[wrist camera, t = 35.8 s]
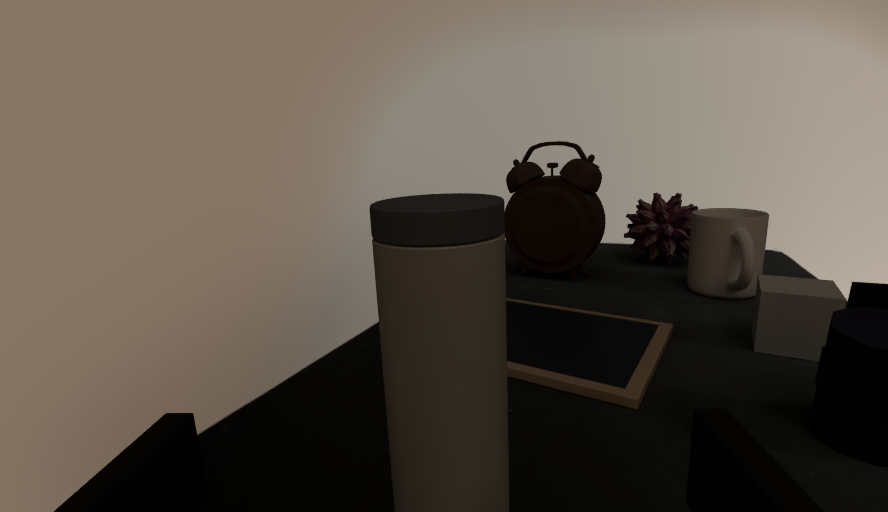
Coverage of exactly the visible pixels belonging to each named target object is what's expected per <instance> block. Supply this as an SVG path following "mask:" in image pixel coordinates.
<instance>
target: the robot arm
mask: <svg viewBox="0 0 888 512" xmlns="http://www.w3.org/2000/svg"><path fill="white" fill-rule="evenodd" d="M209 500H210V499H209V494H208V489H207V484H206V478H205V473H204V468H203V463H202V458H201V452H200V447H199V442H198V437H197V431H196V426H195V421H194V416H193V413H166V414H165V415H163V416H162V417H161V418H160V419H159V420H158V421H157V422H155V423H154V424H153V425H152V426H151V427H150V428H149V429H147V430H146V431H145V432H144V433H143V434H142V435H141V436H139V437H138V438H137V439H136V440H135V441H134V442H133V443H131V445H129V446H128V447H127V448H126V449H125V450H123V451H122V452H121V453H120V454H119V455H118V456H117V457H116V458H114V459H113V460H112V461H111V462H110V463H109V464H107V466H105V467H104V468H103V469H102V470H101V471H99V472H98V473H97V474H96V475H95V476H94V477H93V478H91V479H90V480H89V481H88V482H87V483H86V484H85V485H83V486H82V487H81V488H80V489H79V490H78V491H77V492H75V493H74V494H73V495H72V496H71V497H70V498H69V499H67V500H66V501H65V502H64V503H63V504H62V505H61V506H59V507H58V508H57V509H56V510H55V511H54V512H201V510H202V509H203V508H204V506H205V505H206V504H207V502H208V501H209ZM686 503H687V505H688V507H689V508H690V510H691V512H824V511H823V510H822V509H821V508H820V507H819V506H818V505H817V504H816V503H815V502H814V501H813V499H812V498H811V497H810V496H809V495H808V494H807V493H806V492H805V491H804V490H803V489H802V488H801V487H800V486H799V485H798V484H797V483H796V482H795V481H794V480H793V479H792V478H791V476H790V475H789V474H788V473H787V472H786V471H785V470H784V469H783V468H782V467H781V466H780V465H779V464H778V463H777V462H776V461H775V460H774V459H773V458H772V457H771V456H770V455H769V453H768V452H767V451H766V450H765V449H764V448H763V447H762V446H761V445H760V444H759V443H758V442H757V441H756V440H755V439H754V438H753V437H752V436H751V435H750V434H749V433H748V432H747V431H746V429H745V428H744V427H743V426H742V425H741V424H740V423H739V422H738V421H737V420H736V419H735V418H734V417H733V416H732V415H731V414H730V413H729V412H728V411H727V410H726V409H694V416H693V427H692V439H691V450H690V462H689V473H688V485H687V496H686Z"/></svg>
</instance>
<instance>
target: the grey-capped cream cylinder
mask: <svg viewBox="0 0 888 512" xmlns="http://www.w3.org/2000/svg"><path fill="white" fill-rule="evenodd" d="M370 218H371V219H370V220H371V232H372V237H373V240H372V244H373V255H374V268H375V280H376V290H377V291H376V292H377V303H378V315H379V328H380V340H381V352H382V364H383V376H384V388H385V400H386V412H387V424H388V436H389V448H390V460H391V472H392V484H393V496H394V508H395V512H509V467H508V404H507V341H506V278H505V233H504V230H505V215H504V199H503V198H501V197H499V196H494V195H486V194H462V193H461V194H460V193H458V194H429V195H417V196H406V197H398V198H391V199H386V200H381V201H378V202H375V203H373V204H371V205H370Z"/></svg>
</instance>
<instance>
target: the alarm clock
mask: <svg viewBox="0 0 888 512" xmlns="http://www.w3.org/2000/svg"><path fill="white" fill-rule="evenodd" d="M549 145H564V146H568V147H572V148H574V149H575V150H576V151H577V152H578V154H579V155H580V157H581V159H573V160H571V161H569V162H568V163H567V164H566V165H565V166H564V167H563V168H562V170H561V171H560V175H561V176H553V168H556V167H558V163H548V164H547V167H548V168H551V176H544V177H543V175H544V174H545V173H544V172H543V170H542V169H541V168H540V167H539V166H538V165H537V164H535V163H533V162H527V160H528V159H529V157H530V155H531V154H532V152H533V151H534V150H535V149H537V148H540V147H543V146H549ZM594 159H595V158H594V155H590V156H589V157H588V159H587V158H586V156H585V154H584V152H583V151H582V149H581V147H580V146H578V145H577V144H574V143H569V142H561V141H557V142H544V143H539V144H537V145H534V146H531V147H530V148H529V149H528V151H527V153H526V154H525V156H524V158H523V160H522V162H521V163H519V161H518V160H516V159H515V160H514V161H513V163H514V166H515V167H513V168H512V170H511V171H510V172H509V173H508V175H507V178H506V182H507V187H508V190H509V192H510V193H513V192H515V193H514V194H513V195H512V197H511V199H510V200H509V202H508V204H507V206H506V209H505V213H504V215H505V230H504V233H505V238H506V241H507V243H508V246H509V247H510V249H511V251H512V252H513V254H514V255H515V256H516V257H517V258H518V259H519V260H520V261H521V262H522V263H523V264H525V267H524V269H522V273H525V272H526V269H527V268H528V267H529V268H530V269H531V270H533V269H534V270H536V271H539V272H544V273H560V272H564V271H567V270H569V271H570V273H571V274H572V278H573V279H576V278H577V276H576V275H575V273H574V269H573V268H574V267H576V266H578V265H579V266H580V267H581V269H582V270H583V271H584V274H585V275H587V274H588V271H587V270H586V268H585V265H584V263H583V262H584V261H585V260H587V259H588V258H589V257H590V256H591V255H592V254H593V252H594V251H595V250H596V248H597V247H598V245H599V243H600V242H601V240H602V237H603V234H604V230H605V213H604V209H603V206H602V204H601V201H600V199H599V197H598V196H597V194H596V193H595V192H597V191H598V189H599V187H600V184H601V180H602V174H601V172H600V170H599V166H597V165H595V164H594V163H593V161H594Z"/></svg>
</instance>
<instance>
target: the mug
mask: <svg viewBox="0 0 888 512" xmlns="http://www.w3.org/2000/svg"><path fill="white" fill-rule="evenodd" d="M768 219H769V214H768V213H766V212H762V211H757V210H749V209H736V208H735V209H734V208H710V209H700V210H695V211H693V212H692V221H691V233H690V246H689V259H688V272H687V285H688V287H689V288H690V289H691V290H692V291H693V292H695V293H697V294H700V295H703V296H707V297H712V298H718V299H728V300H741V299H748V298H752V297H754V296H755V295H756V287H757V278H758V275H762V271H763V262H764V254H765V245H766V236H767V228H768Z"/></svg>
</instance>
